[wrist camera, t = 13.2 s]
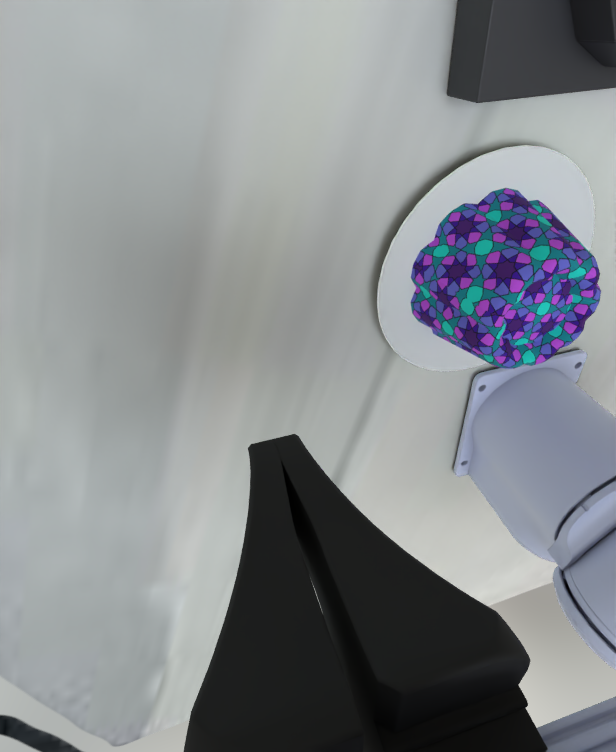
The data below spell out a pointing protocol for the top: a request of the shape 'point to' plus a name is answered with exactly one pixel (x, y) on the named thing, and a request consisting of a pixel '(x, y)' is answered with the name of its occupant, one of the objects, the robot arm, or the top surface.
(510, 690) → the robot arm
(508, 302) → the pudding
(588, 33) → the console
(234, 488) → the top surface
